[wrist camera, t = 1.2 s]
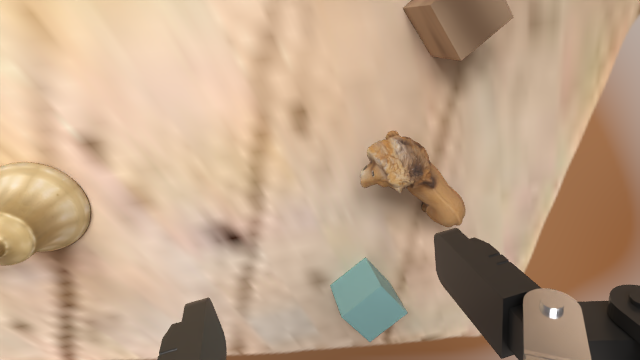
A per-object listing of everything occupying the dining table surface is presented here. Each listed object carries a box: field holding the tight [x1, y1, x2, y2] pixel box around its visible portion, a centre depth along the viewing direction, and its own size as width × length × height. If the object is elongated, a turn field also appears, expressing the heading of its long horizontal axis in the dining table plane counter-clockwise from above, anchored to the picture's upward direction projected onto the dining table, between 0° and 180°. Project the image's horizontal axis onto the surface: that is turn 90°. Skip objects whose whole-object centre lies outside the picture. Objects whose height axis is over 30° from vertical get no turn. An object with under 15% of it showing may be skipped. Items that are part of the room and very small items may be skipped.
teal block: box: [330, 257, 407, 342], centre depth 39 cm, size 5×5×5 cm
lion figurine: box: [360, 131, 465, 227], centre depth 33 cm, size 15×5×9 cm, turn 55°
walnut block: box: [403, 0, 514, 61], centre depth 30 cm, size 5×5×5 cm
